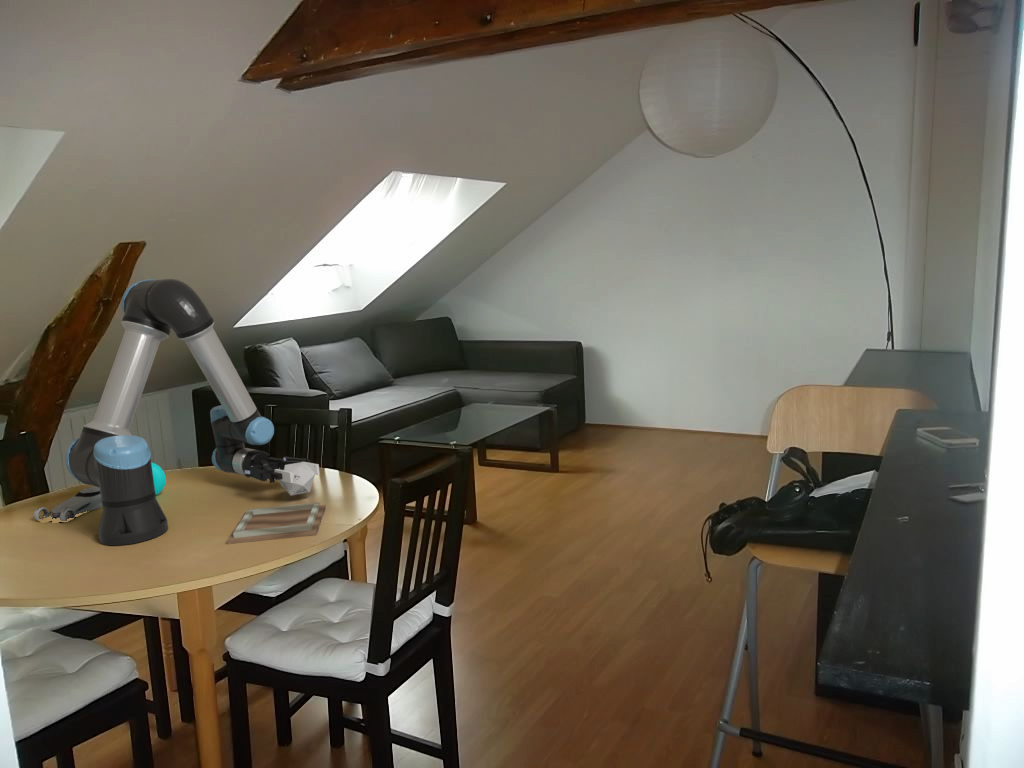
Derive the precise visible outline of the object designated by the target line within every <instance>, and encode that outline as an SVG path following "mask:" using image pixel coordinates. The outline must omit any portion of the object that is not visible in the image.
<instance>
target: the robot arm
mask: <svg viewBox="0 0 1024 768" xmlns="http://www.w3.org/2000/svg"><path fill="white" fill-rule="evenodd" d="M121 309H122V311H123V317H122V319H121V322H120V323H121V325H122V327H123V328H124V334H123V336H122V338H121V342H120V343H119V344H120V345H119V347H118V350H117V353H116V356H115V359H114V361H113V364H112V367H111V369H110V372H109V376H108V378H107V381H106V384H105V386H104V389H103V392H102V394H101V398H100V399H99V403H98V406H97V408H96V411H95V414H94V417H93V420H92V421H90V422H88V423H86V424H84V425H83V427H82V429H81V432H80V436H79V437H78V438H76V439H75V440H73V441H72V442H71V443H70V445H69V446H68V447H67V449H66V451H65V456H64V461H65V467H66V469H67V471H68V473H69V474H70V476H72V477H73V478H74V479H76V480H77V481H79V482H81V483H82V484H85V485H89V486H92V487H93V486H97V487H100V493H101V499H102V506H103V507H102V511H101V516H100V521H99V527H98V530H97V531H98V532H97V533H98V539H99V541H98V542H99V543H100V542H101V543H100V544H101V545H102V544H103V545H105V546H126V545H132V544H133V545H134V544H137V543H142V542H145V541H150V540H152V539H154V538H158V537H159V536H161V535H163V534H165V533H166V532H167V531H168V530H169V525H168V524H169V522H168V518H167V517H166V515H165V513H164V511H163V509H162V507H161V505H160V504H159V501H158V500H157V495H156V494H155V487H154V479H153V472H152V464H151V462H152V458H151V457H152V454H151V450H150V448H149V442H147V440H146V438H143V437H141V436H137V435H132V433H131V432H130V430H131V426H132V423H133V420H134V418H135V415H136V412H137V410H138V406H139V403H140V401H141V398H142V395H143V392H144V389H145V386H146V383H147V381H148V378H149V375H150V372H151V369H152V367H153V364H154V360H155V357H156V354H157V352H158V350H159V346H160V343H161V342H162V341H164V340H166V339H168V338H169V337H170V333H171V331H173V333H174V334H175V335H176V337H177V339H178V340H182V341H184V342H185V344H186V346H187V348H188V349H189V351H190V353H191V354H192V356H193V358H194V360H195V362H196V363H197V365H198V366H199V368H200V370H201V371H202V374H203V375H204V377H205V379H206V381H207V382H208V384H209V386H210V387H211V389H212V391H213V393H214V394H215V396H216V398H217V400H218V401H219V403H220V404H221V405H217V406H214V407H212V408H211V409H210V411H209V416H210V423H211V429H212V431H213V432H212V433H213V437H214V441H215V449H214V450H213V451H212V455H211V462H212V465H213V466H214V467H215V468H216V469H217V470H219V471H222V472H224V473H230V474H237V475H241V476H244V477H247V478H248V479H249V478H252V479H255V480H258V481H260V482H267V481H268V480H269V483H270V484H271V483H272V484H274V483H275V481H279V482H280V481H284V482H288V483H293V474H292V472H290V471H285V470H284V467H285V465H288V464H294V463H300V462H305V463H306V465H307V466H308V467H309V468H310V469H311V470H312V471H313V473H314V474H315V476H318V475H320V466H319V465H320V464H318V463H313V462H311V461H310V458H305V457H303V458H301V457H300V458H299V457H291V456H289V455H288V456H287V455H284V456H283V458H277V457H272V456H271V455H270V453H268V452H266V451H263V450H258V449H253V448H248V447H245V446H246V445H245V444H247V445H252V446H263V445H266V444H268V443H269V442H270V441H271V440H272V438H273V436H274V435H275V426H274V424H273V422H272V421H271V420H270V419H268V418H266V417H265V416H262V415H261V413H260V411H259V410H258V408H257V406H256V404H255V403H254V401H253V399H252V397H251V396H250V393H249V391H248V390H247V388H246V386H245V384H244V383H243V380H242V379H241V377H240V375H239V373H238V371H237V369H236V368H235V366H234V364H233V362H232V360H231V358H230V356H229V355H228V353H227V351H226V348H225V347H224V345H223V344H222V342H221V340H220V338H219V337H218V334H217V332H216V331H215V329H214V325H215V321H214V318H213V317H212V314H211V313H210V311H209V309H208V308H207V306H206V304H205V302H204V301H203V300H202V299H201V296H199V295H198V293H197V292H196V291H195V290H194V289H193V288H192V287H191V286H189V284H187V283H185V282H184V281H181V280H180V279H179V280H178V279H176V278H164V279H153V278H152V279H144V280H140V281H137V282H135V283H132V284H131V285H130V286H129V287H128V288H127V289H126V290H125V291H124V293H123V296H122V298H121Z"/></svg>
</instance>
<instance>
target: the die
mask: <svg viewBox="0 0 1024 768" xmlns="http://www.w3.org/2000/svg"><path fill="white" fill-rule="evenodd" d="M284 470H285V471H290V472H292V474H293V483H288V482H284V481H279V484H280V485H281V486H282V488H283V489H284V490H285V491H286V492H287V493H288V494H289V495H290V497H292V496H296V495H302V494H306V493H311V491H312V485H313V483H314V480H315V476H316V475H315V474H314V473H313V471H312V470H311V469H310V468H309V467H308V466H307V465H306V463H305V462H300V463H294V464H288V465H285V467H284Z"/></svg>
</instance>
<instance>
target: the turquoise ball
mask: <svg viewBox="0 0 1024 768" xmlns="http://www.w3.org/2000/svg"><path fill="white" fill-rule="evenodd" d="M151 464H152V472H153V479H154V487H155V494H156V496H158V495H159V494H160V493H161V492H162V491H163V490H164V488H165V487H166V484H167V477H166V473H165V471H164V470H163V468H162V467H161V466H160V465H158V464H156V463H155V462H152V461H151Z"/></svg>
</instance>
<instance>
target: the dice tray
mask: <svg viewBox="0 0 1024 768" xmlns="http://www.w3.org/2000/svg"><path fill="white" fill-rule="evenodd" d="M326 508H327V506H326V504H321V505H320V501H319V502H310V503H299V504H289V505H277V506H268V507H257V508H249V509H248V510H247V511H246V512H244V513H243V514H242V516H241V518H240V519H239V521H238V522H237V524H236V525H235V527H234V529H233V530H232V532H231V533H230V534H229V536H228V538H227V540H226V544H227V545H230V544H238V543H248V542H258V541H260V542H261V541H268V540H269V541H270V540H280V538H281V539H289V538H288V537H291V538H298V537H297V536H301V537H309V535H310V536H317V535H318V532H319V529H320V526H321V524H320V523H321V522H322V521H321V520H323V518H322V517H324V514H325V512H326Z"/></svg>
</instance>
